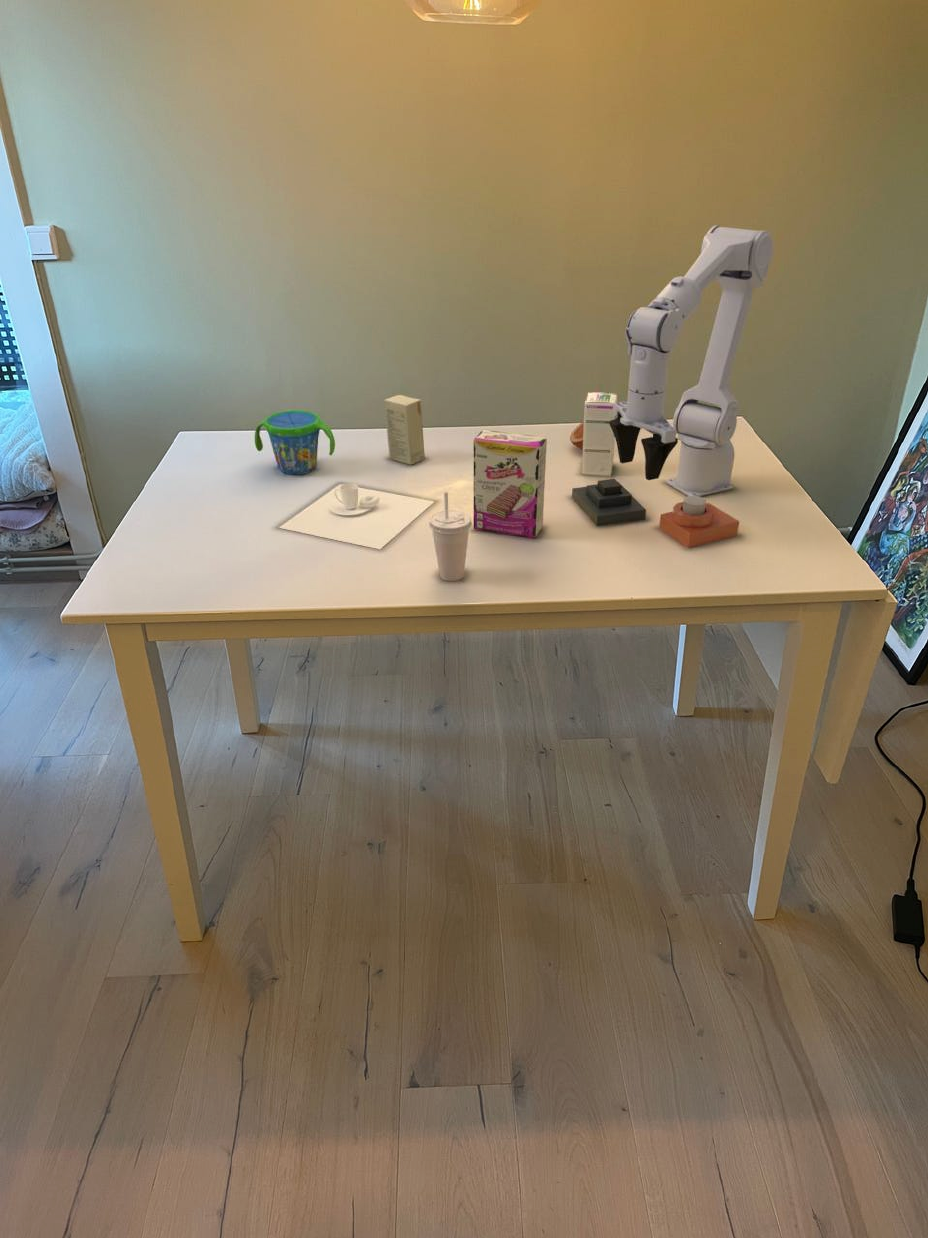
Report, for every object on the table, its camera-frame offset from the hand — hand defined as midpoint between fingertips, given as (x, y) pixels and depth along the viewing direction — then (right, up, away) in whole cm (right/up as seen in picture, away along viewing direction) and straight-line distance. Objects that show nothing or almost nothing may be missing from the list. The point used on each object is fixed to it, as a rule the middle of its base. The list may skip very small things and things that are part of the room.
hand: (638, 470), depth 143 cm
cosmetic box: (-40, +8, +32) cm, 52 cm away
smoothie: (-31, -18, -8) cm, 36 cm away
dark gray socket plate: (-3, -5, +11) cm, 13 cm away
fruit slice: (-4, +12, +33) cm, 35 cm away
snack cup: (-61, +5, +29) cm, 68 cm away
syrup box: (-3, +4, +26) cm, 27 cm away
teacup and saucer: (-47, -6, +11) cm, 49 cm away
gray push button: (+9, -7, 0) cm, 11 cm away
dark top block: (-3, -2, +10) cm, 11 cm away
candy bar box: (-21, -9, +5) cm, 24 cm away
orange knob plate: (+10, -10, +3) cm, 15 cm away
